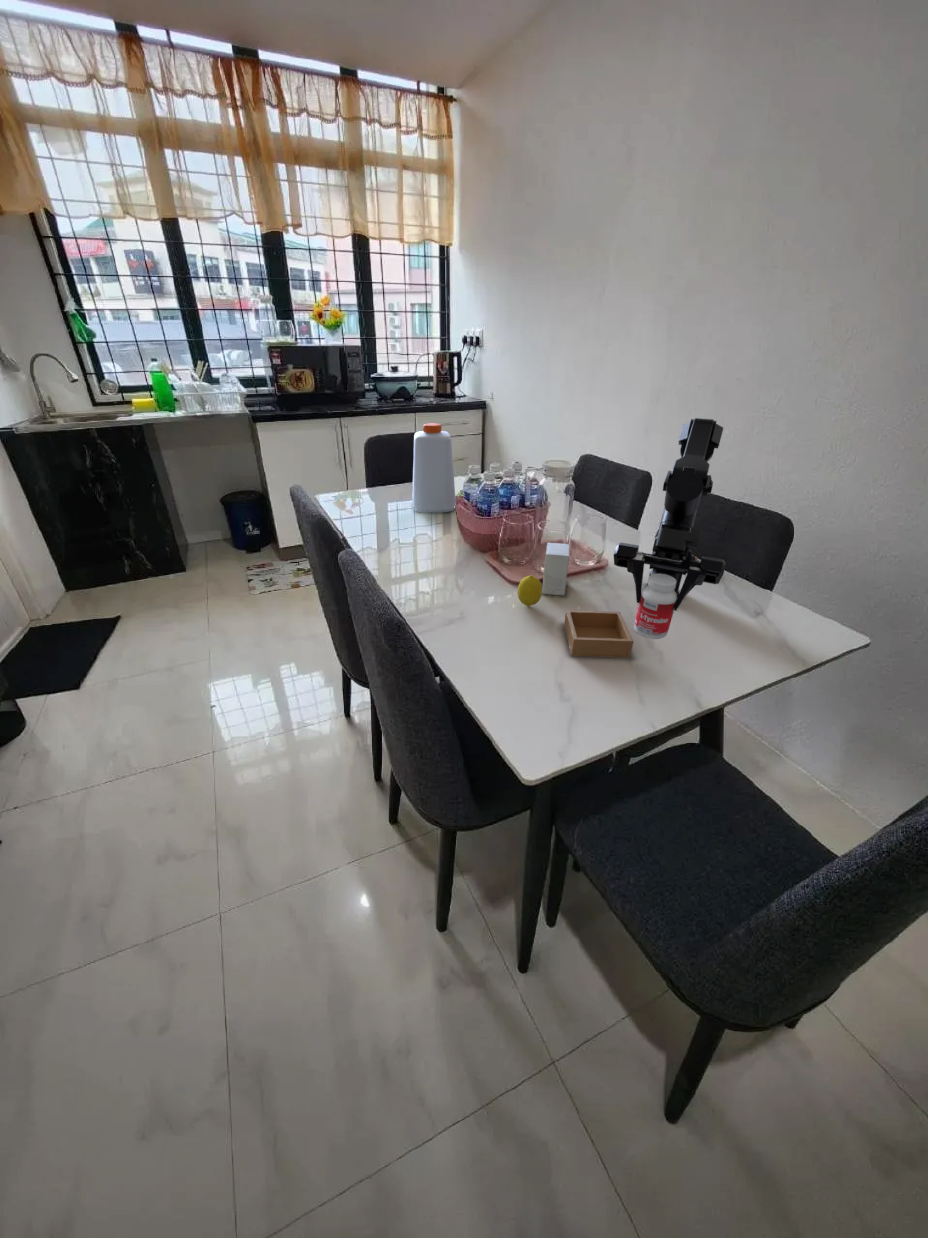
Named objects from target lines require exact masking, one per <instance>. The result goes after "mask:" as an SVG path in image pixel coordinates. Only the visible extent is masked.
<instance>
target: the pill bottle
mask: <svg viewBox="0 0 928 1238" xmlns="http://www.w3.org/2000/svg"><path fill="white" fill-rule="evenodd" d="M647 583H648V585H647V584H646V585H645V586H644V587H642V590H641V597H640V601H639V603H638V604H637V610H636V614H635V618H634V622H633V623H634V624H633V629H634V631H635V633H636V634H637V635H639V636H641V637H643V638H646V639H650V640H660V639H663V638H665V637H667V635H668V633H669V630H670V626H671V623H672V619H673V614H674V612H675V611H674V608H675V604H676V601H677V598H678V597H677V594H676V592H675V591H674V589H675V586H676V579H675V578H673V577H672V576H669V575H666V574H652V575H650V576H649V575H648V580H647Z"/></svg>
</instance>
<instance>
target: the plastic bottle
mask: <svg viewBox="0 0 928 1238" xmlns="http://www.w3.org/2000/svg"><path fill="white" fill-rule="evenodd" d="M452 440H453V439H452V437H451V435H450V433H449V432H448V431H446V430H442V424H441V423H437V422H428V423H424V424H423V425H422V430H419V431H416V432H415V433H414V435H413V462H412V463H413V464H412V465H413V466H412V499H411V500H412V509H413V510H414V511H415V512H418V513H423V514H430V513H431V514H434V513H450V512H452V511H454V510H455V509H456V507H455V508H454V506H455V501H456V489H455V488H456V487H455V474H454V473H455V471H454V457H453V443H452Z"/></svg>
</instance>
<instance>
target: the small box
mask: <svg viewBox="0 0 928 1238" xmlns="http://www.w3.org/2000/svg"><path fill="white" fill-rule="evenodd" d="M570 546H571V544H570V543H569V544H568V543H559V542H558V543H557V542H547V543H546V552H545V557H544V568H543V576H542V595H543V594H544V595H555V596H565V595H566V588H567V578H568V571H569V570H568V569H569V562H570V552H571V551H570V549H571V547H570Z"/></svg>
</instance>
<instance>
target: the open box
mask: <svg viewBox="0 0 928 1238" xmlns="http://www.w3.org/2000/svg"><path fill="white" fill-rule="evenodd" d="M563 622H564V623H563V628H564V631H565V636H566V640H567V643H568V647H569V651H570V655H571V657H595V658H596V657H600V658H626V659H627V658H628V659H630V658H631V655H632V651H633V647H634V642H635V641H634V639H633V637H632V635H631V633H630V630H629V628H628V626H627V623H626V621H625V619H624V617H623V615H622V613H621V611H602V610H601V611H600V610H599V611H597V610H569V609H567V610H565V614H564V621H563Z"/></svg>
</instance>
